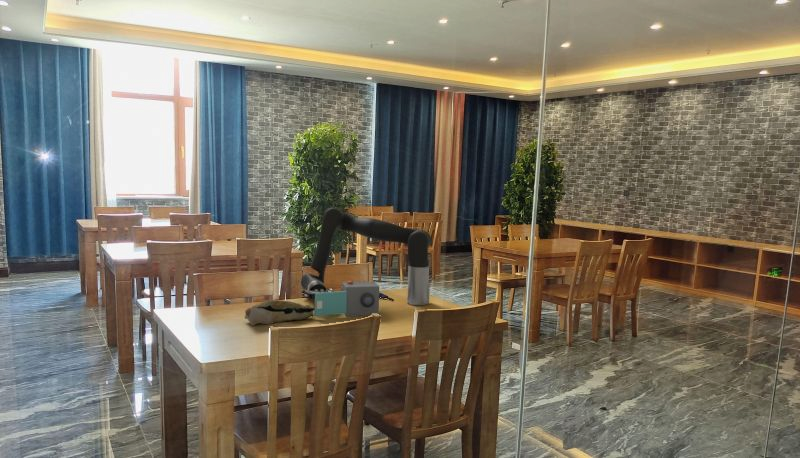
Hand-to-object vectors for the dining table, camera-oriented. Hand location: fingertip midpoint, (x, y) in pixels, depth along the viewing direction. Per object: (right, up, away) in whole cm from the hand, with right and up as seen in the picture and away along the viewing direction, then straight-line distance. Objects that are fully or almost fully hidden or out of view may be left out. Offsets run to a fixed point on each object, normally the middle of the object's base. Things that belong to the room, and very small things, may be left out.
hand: (322, 299), depth 222 cm
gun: (+16, -4, +36) cm, 40 cm away
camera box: (+15, -7, +9) cm, 18 cm away
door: (+4, -6, -2) cm, 7 cm away
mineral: (-15, -8, -8) cm, 18 cm away
